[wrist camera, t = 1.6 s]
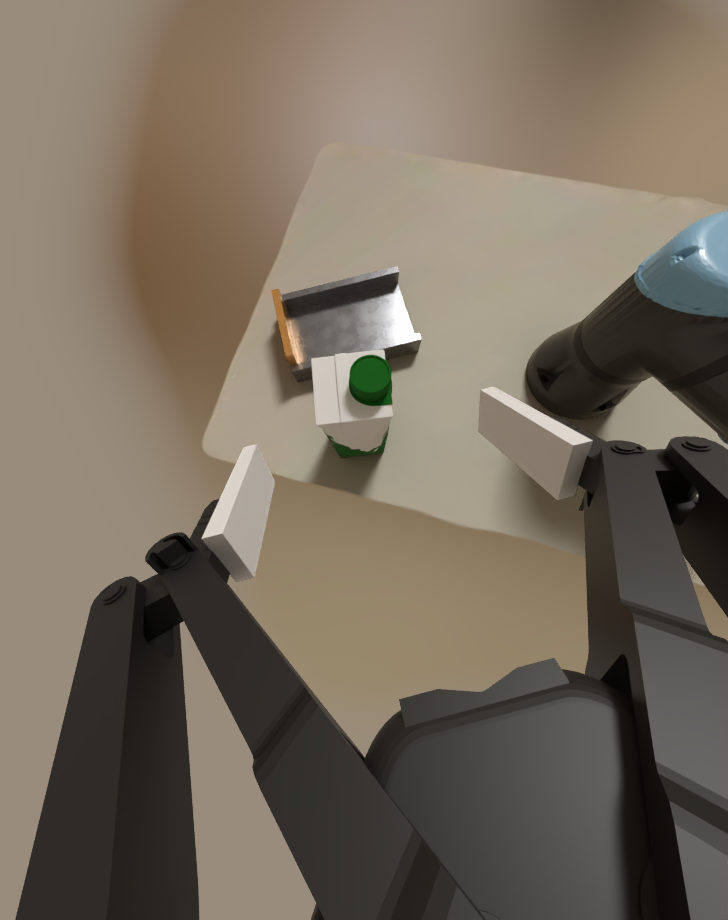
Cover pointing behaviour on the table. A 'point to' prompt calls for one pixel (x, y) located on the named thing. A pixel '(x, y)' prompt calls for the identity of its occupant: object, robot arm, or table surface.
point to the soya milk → (353, 401)
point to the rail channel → (344, 320)
